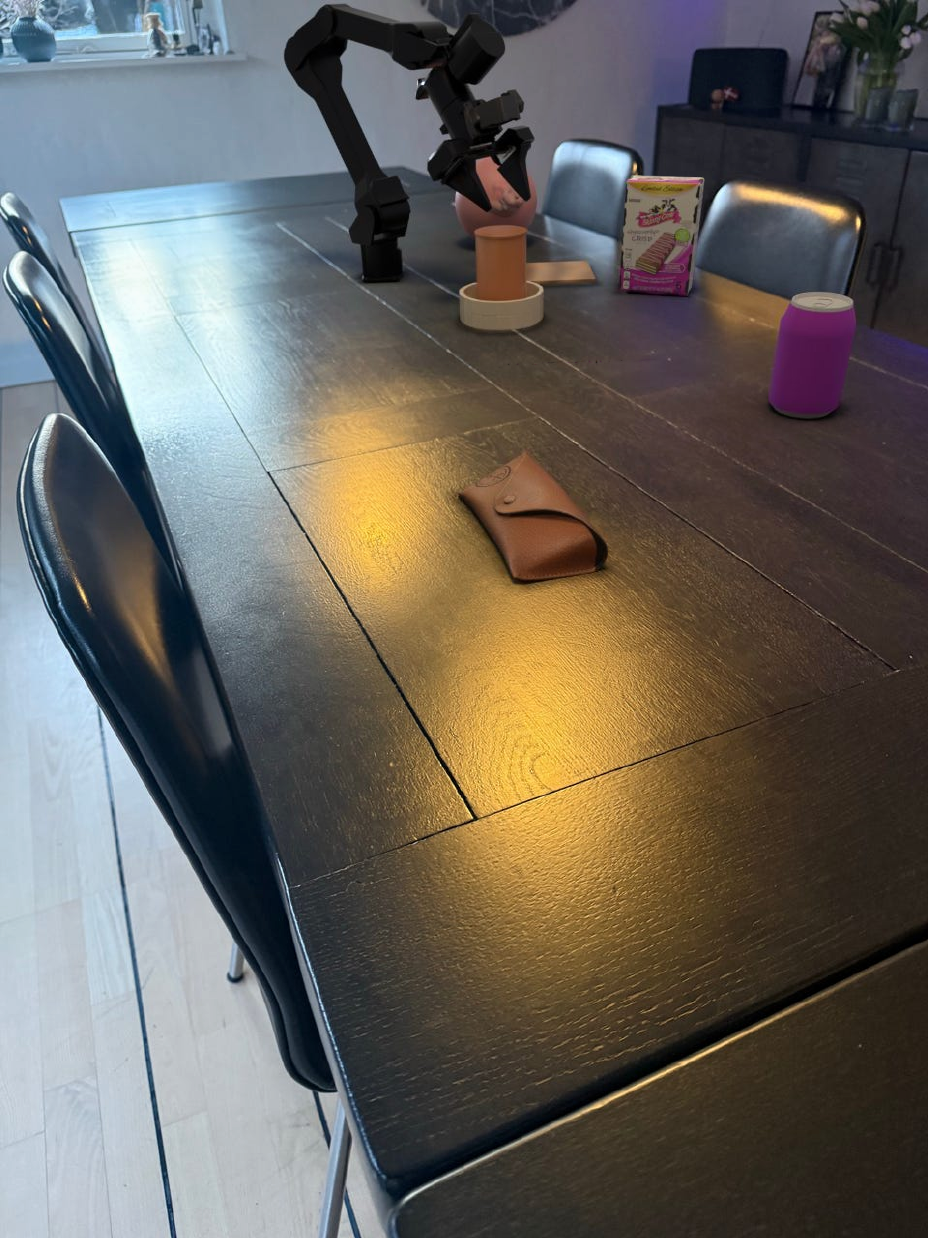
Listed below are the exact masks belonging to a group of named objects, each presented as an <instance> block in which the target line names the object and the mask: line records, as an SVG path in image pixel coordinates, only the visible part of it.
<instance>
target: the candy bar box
mask: <svg viewBox="0 0 928 1238" xmlns="http://www.w3.org/2000/svg"><path fill="white" fill-rule="evenodd" d="M704 187H705V178H704V177H693V176H663V175H662V176H661V175H631V176H630V177H629V178H628V179H627V180H626V182H625V193H624V195H625V197H624V210H623V222H622V223H623V224H622V238H621V254H620V268H619V277H618V279H619V280H618V290H620V291H624V292H625V293H632V294H647V295H650V294H651V295H664V296H682V297H683V296H684V297H688V295H689V293H690V292H691V290H692V288H693V285H694V284H693V283H694V272H695V264H696V256H697V246H698V238H699V231H700V230H699V228H700V222H701V221H700V220H701V212H702V205H703V204H702V203H703V197H704V196H703V194H704Z"/></svg>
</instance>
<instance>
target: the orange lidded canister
mask: <svg viewBox="0 0 928 1238" xmlns="http://www.w3.org/2000/svg"><path fill="white" fill-rule="evenodd" d="M527 234H528V229H526V228H523V227H519V226H511V225H498V226H488V227H483V228H479V229H477V230H475V232H474V235H475V239H474V242H475V243H474V245H475V247H474V248H475V276H476V277H475V279H476V280H475V281H476V282H475V283H476V285H477V299H478V300H484V301H510V300H518V299H523V298H526V263H527Z"/></svg>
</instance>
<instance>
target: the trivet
mask: <svg viewBox="0 0 928 1238" xmlns="http://www.w3.org/2000/svg"><path fill="white" fill-rule="evenodd" d="M526 281H530V282H533V283H537V284H539V285H540V284H543V285H545V284H566V283H592V282H596V276H595V275H594V272H593V270H592V268H591V265H590V263H589V261H588V260H578V261H577V260H576V261H552V262H550V261H549V262H526Z"/></svg>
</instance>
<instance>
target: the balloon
mask: <svg viewBox="0 0 928 1238" xmlns="http://www.w3.org/2000/svg"><path fill="white" fill-rule="evenodd" d="M498 167H499V166H498V165H497V164H495V163H494V162H493V160H492V159H491V157H487V158H482V159H478V160H476V172H477V174H478V176H479V178H480V180H481V182H482V185H483V187H484V189H485V191H486V193H487V195H488V197H489V200H490V203H491V205H492V209H491V210H490V211H489V212H485V211H484V210H482V209H481V208H480V207H478V206H477V205H476V204H474V203H473V202H471V201H470V200H469V199H467V198H466V197H464V196H463V195H461V194H460V193H458V192H457V191H455V192H456V193H455V201H454V202H455V211H456V216H457V218H458V221H459V224H460V226H461V227H462V228H463V230H464V231H465V233H467V235H468V236H469V237H470V238H471V239H473V240H475V235H474V232H475V230H477V229H479V228H483V227H488V226H498V225H511V226H519V227H523V228H526V229H527V230H528V229H529V228H530V226H531V224H532V223H533V221H534V219H535V215H536V213H537V206H538V194H537V189H536V186H535V185H536V184H535V183H534V180H533V178H532V176H531V174H530V173H529V171H527V176H528V182H529V187H530V193H531V198H530V199H529V200H528V201H524V200H523V199H522V198H521V197H520V196H519V195H518V194H517V193H516V191H515V190H514V189H513V188H512V187H511V186H510V184H509V183H508V182H507V181H506V180H505V179H504V178H503V177H502V175H501V174H500V173H499V172H498V171H497V168H498Z"/></svg>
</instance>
